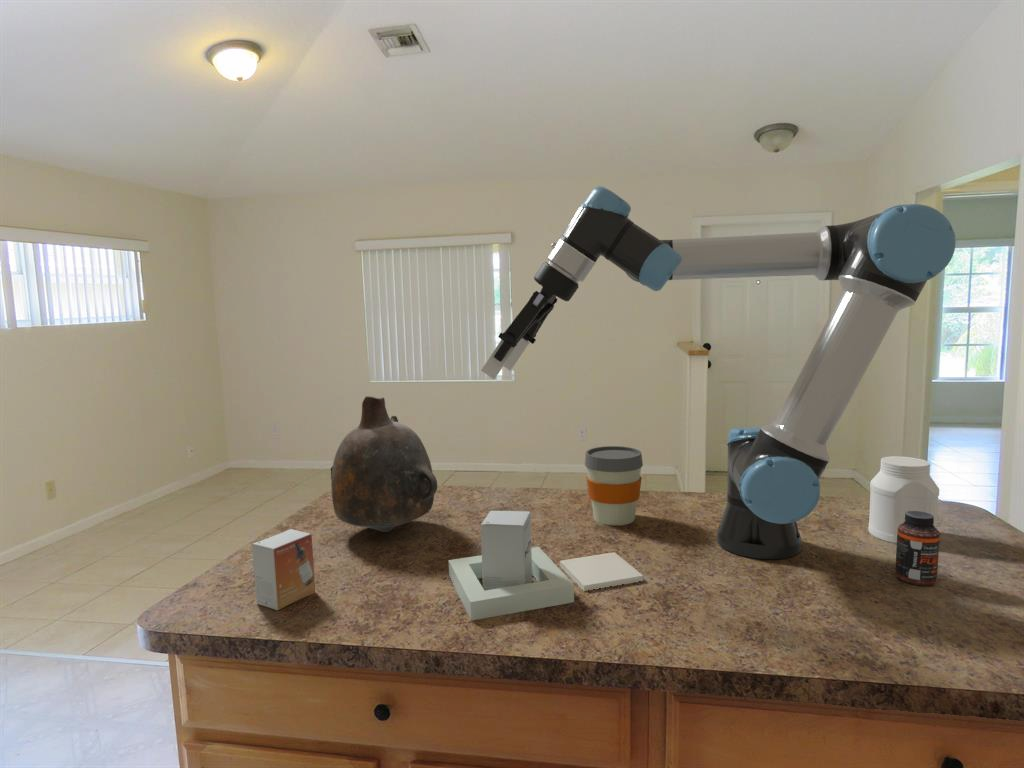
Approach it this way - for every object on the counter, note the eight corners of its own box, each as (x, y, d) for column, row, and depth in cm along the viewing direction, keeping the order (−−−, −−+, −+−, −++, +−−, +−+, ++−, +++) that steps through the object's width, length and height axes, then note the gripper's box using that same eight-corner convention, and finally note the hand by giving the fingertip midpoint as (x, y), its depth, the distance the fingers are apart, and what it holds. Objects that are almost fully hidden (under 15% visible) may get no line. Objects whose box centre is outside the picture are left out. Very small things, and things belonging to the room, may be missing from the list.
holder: (538, 562, 118) (538, 546, 117) (574, 602, 102) (573, 584, 101) (449, 576, 113) (448, 560, 113) (471, 620, 97) (470, 602, 96)
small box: (277, 612, 102) (272, 549, 100) (255, 604, 105) (250, 543, 103) (316, 592, 108) (312, 533, 107) (295, 585, 111) (290, 527, 110)
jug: (445, 512, 148) (439, 385, 144) (437, 548, 126) (430, 399, 123) (340, 517, 147) (331, 389, 143) (314, 553, 126) (303, 404, 122)
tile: (614, 557, 119) (614, 552, 119) (643, 581, 109) (643, 575, 108) (559, 565, 116) (559, 560, 116) (583, 591, 105) (583, 585, 105)
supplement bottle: (923, 590, 102) (927, 522, 101) (887, 576, 107) (890, 512, 106) (944, 581, 105) (948, 515, 103) (908, 569, 110) (911, 506, 109)
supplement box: (526, 600, 103) (523, 525, 101) (481, 597, 104) (478, 523, 103) (533, 580, 110) (531, 510, 109) (492, 578, 112) (489, 509, 110)
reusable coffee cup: (576, 522, 138) (574, 455, 136) (599, 506, 149) (598, 443, 147) (630, 532, 132) (630, 461, 130) (651, 514, 142) (650, 448, 140)
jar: (922, 527, 129) (926, 455, 127) (945, 545, 120) (949, 468, 118) (861, 525, 131) (864, 454, 129) (879, 542, 122) (882, 466, 120)
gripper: (555, 263, 123) (495, 353, 128) (533, 255, 99) (461, 365, 103) (586, 285, 122) (525, 374, 127) (572, 282, 98) (498, 392, 103)
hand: (496, 370), depth 115 cm, fingers open, 13 cm apart
